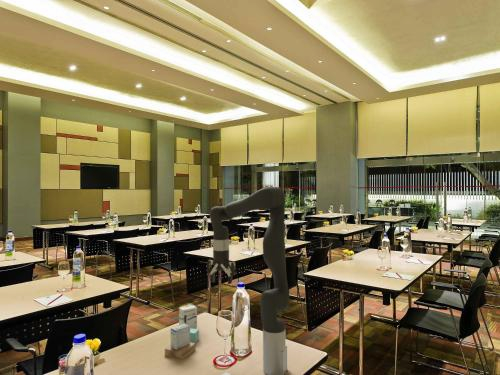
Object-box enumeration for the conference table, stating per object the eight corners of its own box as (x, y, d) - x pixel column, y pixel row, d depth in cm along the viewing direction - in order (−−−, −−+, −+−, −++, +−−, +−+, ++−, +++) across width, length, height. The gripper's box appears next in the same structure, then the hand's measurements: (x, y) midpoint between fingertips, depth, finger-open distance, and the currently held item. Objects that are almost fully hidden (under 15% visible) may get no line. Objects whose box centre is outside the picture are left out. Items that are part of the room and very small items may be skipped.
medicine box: (184, 341, 169) (184, 323, 169) (190, 344, 166) (190, 325, 166) (170, 347, 164) (170, 328, 163) (176, 350, 161) (176, 330, 160)
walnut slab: (195, 350, 167) (195, 343, 167) (183, 360, 158) (183, 352, 158) (177, 347, 171) (177, 339, 171) (164, 356, 162) (164, 348, 162)
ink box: (182, 332, 187) (182, 309, 187) (178, 329, 191) (178, 307, 191) (197, 328, 191) (197, 306, 191) (193, 325, 196) (193, 304, 195)
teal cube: (198, 339, 179) (198, 329, 179) (195, 343, 174) (195, 333, 174) (189, 338, 180) (189, 328, 180) (185, 342, 175) (185, 332, 175)
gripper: (238, 248, 171) (238, 282, 171) (211, 246, 176) (211, 279, 176) (231, 251, 164) (231, 286, 164) (203, 249, 169) (204, 283, 169)
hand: (221, 283), depth 170 cm, fingers open, 8 cm apart
